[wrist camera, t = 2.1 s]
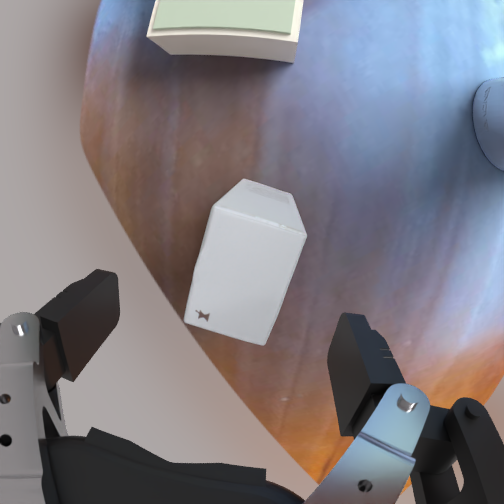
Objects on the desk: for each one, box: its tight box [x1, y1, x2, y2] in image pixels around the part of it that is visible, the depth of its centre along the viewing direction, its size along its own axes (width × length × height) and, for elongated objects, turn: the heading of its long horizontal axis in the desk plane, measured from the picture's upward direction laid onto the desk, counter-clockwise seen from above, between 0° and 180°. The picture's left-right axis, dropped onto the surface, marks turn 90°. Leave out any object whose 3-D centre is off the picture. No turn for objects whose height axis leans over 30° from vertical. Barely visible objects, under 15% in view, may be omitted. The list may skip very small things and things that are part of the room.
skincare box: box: [184, 179, 307, 345], centre depth 18 cm, size 6×4×12 cm
